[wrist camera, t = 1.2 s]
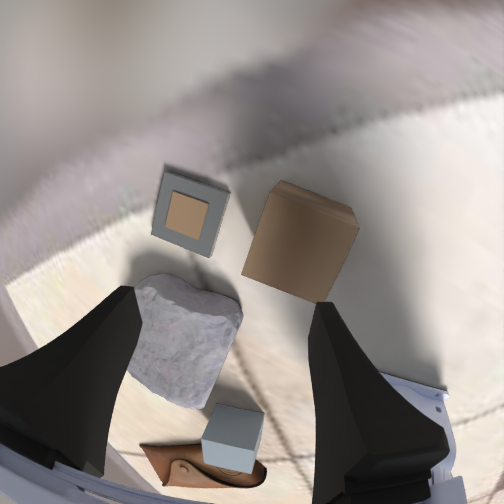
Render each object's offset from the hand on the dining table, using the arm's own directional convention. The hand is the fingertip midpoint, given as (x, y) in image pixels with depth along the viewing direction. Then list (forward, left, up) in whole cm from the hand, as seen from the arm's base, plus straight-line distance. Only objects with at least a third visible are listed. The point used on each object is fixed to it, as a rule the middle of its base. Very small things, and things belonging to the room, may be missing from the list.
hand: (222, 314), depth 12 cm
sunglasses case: (-2, +33, -11) cm, 35 cm away
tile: (+6, +1, -11) cm, 12 cm away
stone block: (+5, +12, -11) cm, 17 cm away
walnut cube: (-2, -1, -11) cm, 11 cm away
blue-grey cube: (-4, +21, -11) cm, 24 cm away
